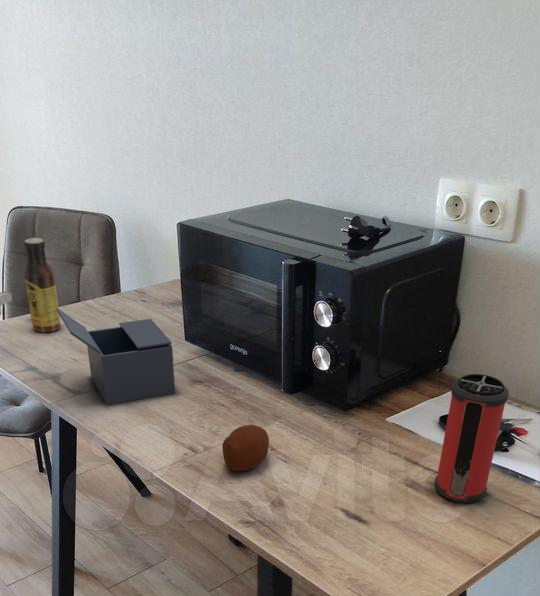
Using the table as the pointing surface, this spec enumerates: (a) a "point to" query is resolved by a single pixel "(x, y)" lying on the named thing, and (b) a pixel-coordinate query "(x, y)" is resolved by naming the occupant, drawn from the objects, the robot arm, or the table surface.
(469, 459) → the speaker
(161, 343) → the carton
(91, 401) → the table surface
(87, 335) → the flap
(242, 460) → the potato
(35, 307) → the sauce bottle
